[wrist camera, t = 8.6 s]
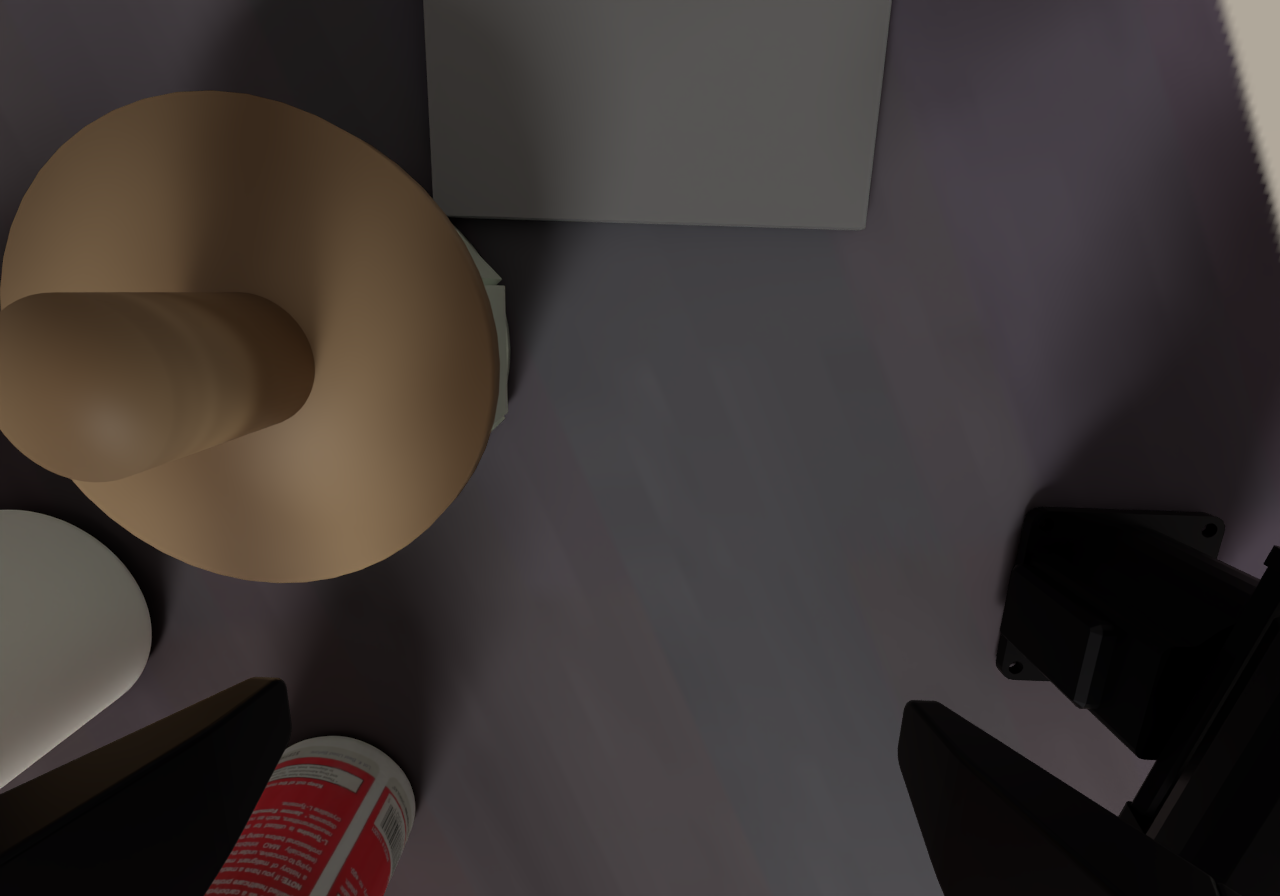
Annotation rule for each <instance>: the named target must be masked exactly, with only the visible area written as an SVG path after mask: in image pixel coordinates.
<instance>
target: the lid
mask: <svg viewBox="0 0 1280 896" xmlns="http://www.w3.org/2000/svg"><path fill="white" fill-rule="evenodd" d="M0 302H1V311H0V430H1V431H2V432H3V434H4V435H5V436H6V437H7V438H8V440H9V441H10V442H11V443H12V444H13V445H14V446H15V447H16V448H17V449H18V450H19V451H21V452H22V453H23V454H24V455H25V456H27V457H28V458H29V459H31V460H32V461H33V462H35V463H36V464H38V465H40V466H42V467H43V468H45V469H47V470H49V471H51V472H53V473H55V474H58V475H60V476H63V477H66V478H69V479H71V480H72V481H73V482H74V483H75V484H76V485H77V486H78V487H79V489H80V490H81V491H82V492H83V493H84V494H85V495H86V496H87V497H88V498H89V499H90V500H91V501H92V502H93V503H94V504H96V505H97V506H98V507H99V508H100V509H101V510H102V511H103V512H104V513H105V514H107V515H108V516H109V517H110V518H111V519H113V520H114V521H115V522H117V523H118V524H119V525H121V526H122V527H123V528H125V529H126V530H128V531H129V532H130V533H132V534H133V535H134V536H136V537H137V538H139V539H141V540H143V541H144V542H146V543H148V544H149V545H151V546H153V547H155V548H156V549H158V550H160V551H161V552H163V553H165V554H168V555H170V556H172V557H174V558H176V559H179V560H181V561H183V562H185V563H188V564H190V565H192V566H196V567H199V568H202V569H205V570H208V571H211V572H214V573H217V574H220V575H225V576H230V577H235V578H239V579H244V580H250V581H261V582H272V583H294V582H310V581H317V580H323V579H329V578H335V577H338V576H342V575H345V574H349V573H352V572H356V571H359V570H362V569H364V568H366V567H368V566H371V565H373V564H375V563H377V562H380V561H382V560H384V559H386V558H388V557H389V556H391V555H393V554H394V553H396V552H397V551H399V550H401V549H402V548H404V547H405V546H407V545H409V544H410V543H411V542H412V541H413V540H415V539H416V538H417V537H418V536H419V535H421V534H422V533H423V532H424V531H425V530H427V529H428V528H429V527H430V526H431V525H432V524H433V523H434V522H435V521H436V519H437V518H438V517H439V516H440V515H441V514H442V513H443V512H444V511H445V510H446V509H447V507H448V506H449V505H450V504H451V503H452V502H453V501H454V500H455V499H456V497H457V496H458V495H459V494H460V493H461V491H462V490H463V488H464V487H465V485H466V484H467V482H468V481H469V479H470V478H471V476H472V475H473V473H474V471H475V469H476V467H477V465H478V463H479V461H480V459H481V457H482V455H483V453H484V451H485V448H486V446H487V443H488V439H489V436H490V433H491V430H492V427H493V424H494V420H495V414H496V408H497V402H498V396H499V382H500V357H499V346H498V336H497V330H496V325H495V321H494V316H493V312H492V308H491V303H490V300H489V297H488V295H487V292H486V289H485V286H484V283H483V281H482V278H481V275H480V272H479V270H478V268H477V266H476V264H475V262H474V260H473V258H472V256H471V254H470V252H469V250H468V248H467V246H466V244H465V242H464V241H463V239H462V238H461V236H460V235H459V233H458V232H457V230H456V229H455V227H454V226H453V224H452V223H451V221H450V220H449V218H448V217H447V215H446V214H445V213H444V212H443V210H442V209H441V208H440V207H439V206H438V205H437V203H436V202H435V201H434V200H433V199H432V198H431V196H430V195H429V194H428V193H427V192H426V191H425V189H424V188H423V187H422V186H421V185H420V184H418V183H417V182H416V181H415V180H414V179H413V178H412V177H411V176H410V175H409V174H408V173H407V172H405V171H404V170H403V169H402V168H401V167H400V166H399V165H398V164H396V163H395V162H394V161H392V160H391V159H389V158H388V157H387V156H385V155H384V154H382V153H381V152H380V151H378V150H377V149H376V148H374V147H373V146H371V145H370V144H368V143H366V142H364V141H363V140H361V139H359V138H357V137H355V136H353V135H352V134H350V133H348V132H346V131H344V130H342V129H341V128H339V127H337V126H335V125H333V124H331V123H329V122H327V121H326V120H324V119H322V118H320V117H318V116H316V115H313V114H311V113H308V112H306V111H303V110H300V109H298V108H295V107H293V106H290V105H288V104H285V103H282V102H278V101H274V100H270V99H266V98H262V97H258V96H254V95H249V94H243V93H233V92H222V91H212V90H210V91H190V92H175V93H170V94H165V95H160V96H155V97H151V98H146V99H142V100H139V101H137V102H134V103H132V104H129V105H126V106H124V107H121V108H118V109H116V110H113V111H111V112H109V113H108V114H106V115H104V116H103V117H101V118H99V119H97V120H96V121H94V122H92V123H90V124H89V125H87V126H85V127H84V128H83V129H81V130H80V131H79V132H78V133H77V134H75V135H74V136H73V137H72V138H71V139H69V140H68V141H67V142H66V143H64V144H63V145H62V146H61V147H60V148H59V149H58V150H57V151H56V152H55V154H54V155H53V156H52V157H51V158H50V159H49V161H48V162H47V163H46V164H45V165H44V166H43V167H42V169H41V170H40V171H39V173H38V174H37V176H36V177H35V179H34V181H33V182H32V184H31V186H30V187H29V189H28V190H27V192H26V194H25V195H24V197H23V199H22V201H21V204H20V206H19V209H18V211H17V213H16V216H15V218H14V221H13V223H12V225H11V228H10V232H9V236H8V241H7V245H6V249H5V253H4V257H3V265H2V275H1V285H0Z"/></svg>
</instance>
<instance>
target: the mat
mask: <svg viewBox="0 0 1280 896" xmlns="http://www.w3.org/2000/svg"><path fill="white" fill-rule="evenodd" d="M891 3H892V0H423V7H424V27H425V47H426V67H427V87H428V107H429V127H430V147H431V167H432V187H433V200H434V201H435V202H436V203H437V205H438V206H439V207H440V208H441V209H442V210H443V212H444V213H445V214H446V215H447V217H449V218H481V219H512V220H544V221H575V222H607V223H638V224H670V225H701V226H733V227H764V228H796V229H827V230H862V229H865V226H866V217H867V208H868V200H869V191H870V183H871V174H872V166H873V157H874V149H875V140H876V131H877V123H878V114H879V106H880V97H881V89H882V80H883V72H884V63H885V55H886V46H887V37H888V29H889V20H890V12H891Z"/></svg>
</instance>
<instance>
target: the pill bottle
mask: <svg viewBox="0 0 1280 896" xmlns="http://www.w3.org/2000/svg"><path fill="white" fill-rule="evenodd" d="M414 818H415V799H414V794H413V790H412V787H411V785H410V782H409V780H408V779H407V777H406V775H405V773H404V772H403V771H402V769H401V768H400V767H399V766H398V765H397V764H396V763H395V762H394V761H393V760H392V759H391V758H390V757H389V756H387V755H386V754H385V753H383V752H382V751H380V750H379V749H377V748H376V747H374V746H372V745H370V744H367V743H365V742H363V741H360V740H357V739H354V738H350V737H344V736H323V737H316V738H311V739H307V740H304V741H301V742H298V743H296V744H294V745H292V746H290V747H288V748H287V749H285V751H284V753H283V755H282V757H281V759H280V761H279V762H278V764H277V766H276V768H275V770H274V772H273V774H272V776H271V778H270V780H269V782H268V784H267V786H266V788H265V789H264V791H263V793H262V795H261V797H260V799H259V801H258V803H257V805H256V807H255V809H254V811H253V813H252V815H251V816H250V818H249V820H248V822H247V824H246V826H245V828H244V830H243V832H242V834H241V836H240V837H239V839H238V841H237V843H236V845H235V846H234V848H233V850H232V852H231V853H230V855H229V857H228V858H227V860H226V862H225V863H224V865H223V867H222V868H221V870H220V872H219V873H218V875H217V876H216V878H215V879H214V881H213V883H212V884H211V886H210V887H209V889H208V890H207V892H206V894H205V895H204V896H383V895H384V893H385V891H386V888H387V886H388V884H389V881H390V879H391V877H392V875H393V872H394V870H395V868H396V866H397V863H398V861H399V858H400V856H401V854H402V851H403V849H404V847H405V844H406V842H407V839H408V837H409V834H410V832H411V829H412V826H413V822H414Z"/></svg>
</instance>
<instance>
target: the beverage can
mask: <svg viewBox="0 0 1280 896" xmlns="http://www.w3.org/2000/svg"><path fill="white" fill-rule="evenodd" d="M151 641H152V628H151V620H150V615H149V611H148V607H147V604H146V601H145V599H144V596H143V594H142V592H141V590H140V588H139V586H138V584H137V582H136V581H135V579H134V577H133V576H132V575H131V573H130V572H129V570H128V569H127V568H126V566H125V565H124V564H123V563H122V562H121V561H120V560H119V558H118V557H117V556H116V555H115V554H114V553H113V552H112V551H110V550H109V549H108V548H107V547H106V546H105V545H104V544H102V543H101V542H100V541H98V540H97V539H96V538H94V537H93V536H91V535H90V534H88V533H86V532H85V531H83V530H81V529H80V528H78V527H76V526H74V525H72V524H70V523H67V522H65V521H63V520H60V519H58V518H55V517H52V516H48V515H45V514H41V513H36V512H31V511H24V510H0V789H1V788H2V787H3V786H5V785H6V784H7V783H8V782H10V781H11V780H12V779H14V778H15V777H16V776H18V775H19V774H20V773H21V772H23V771H24V770H25V769H27V768H28V767H29V766H31V765H32V764H33V763H35V762H36V761H37V760H38V759H40V758H41V757H42V756H44V755H45V754H46V753H48V752H49V751H50V750H51V749H53V748H54V747H55V746H57V745H58V744H59V743H61V742H62V741H63V740H65V739H66V738H67V737H68V736H70V735H71V734H72V733H74V732H75V731H76V730H78V729H79V728H80V727H82V726H83V725H84V724H85V723H87V722H88V721H89V720H91V719H92V718H93V717H95V716H96V715H97V714H98V713H100V712H101V711H102V710H104V709H105V708H106V707H108V706H109V705H110V704H111V703H113V702H114V701H115V700H117V699H118V698H119V697H121V696H122V695H123V694H124V693H125V692H127V691H128V690H129V689H130V688H131V687H132V686H133V685H134V683H135V682H136V681H137V680H138V678H139V677H140V675H141V673H142V671H143V670H144V668H145V665H146V663H147V660H148V657H149V653H150V648H151Z"/></svg>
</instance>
